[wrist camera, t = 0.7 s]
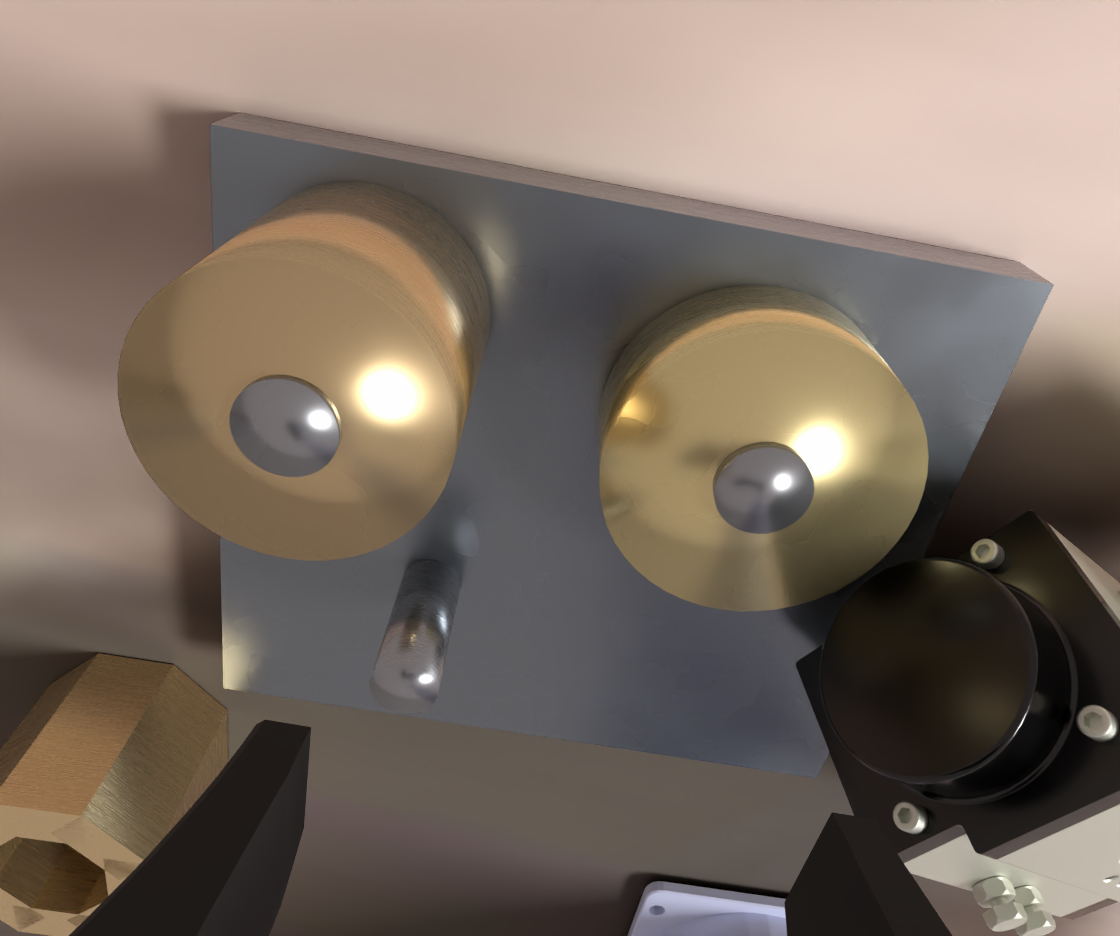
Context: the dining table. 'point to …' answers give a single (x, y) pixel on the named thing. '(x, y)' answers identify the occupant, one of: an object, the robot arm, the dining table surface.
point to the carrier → (553, 437)
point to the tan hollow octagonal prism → (99, 784)
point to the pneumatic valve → (985, 721)
